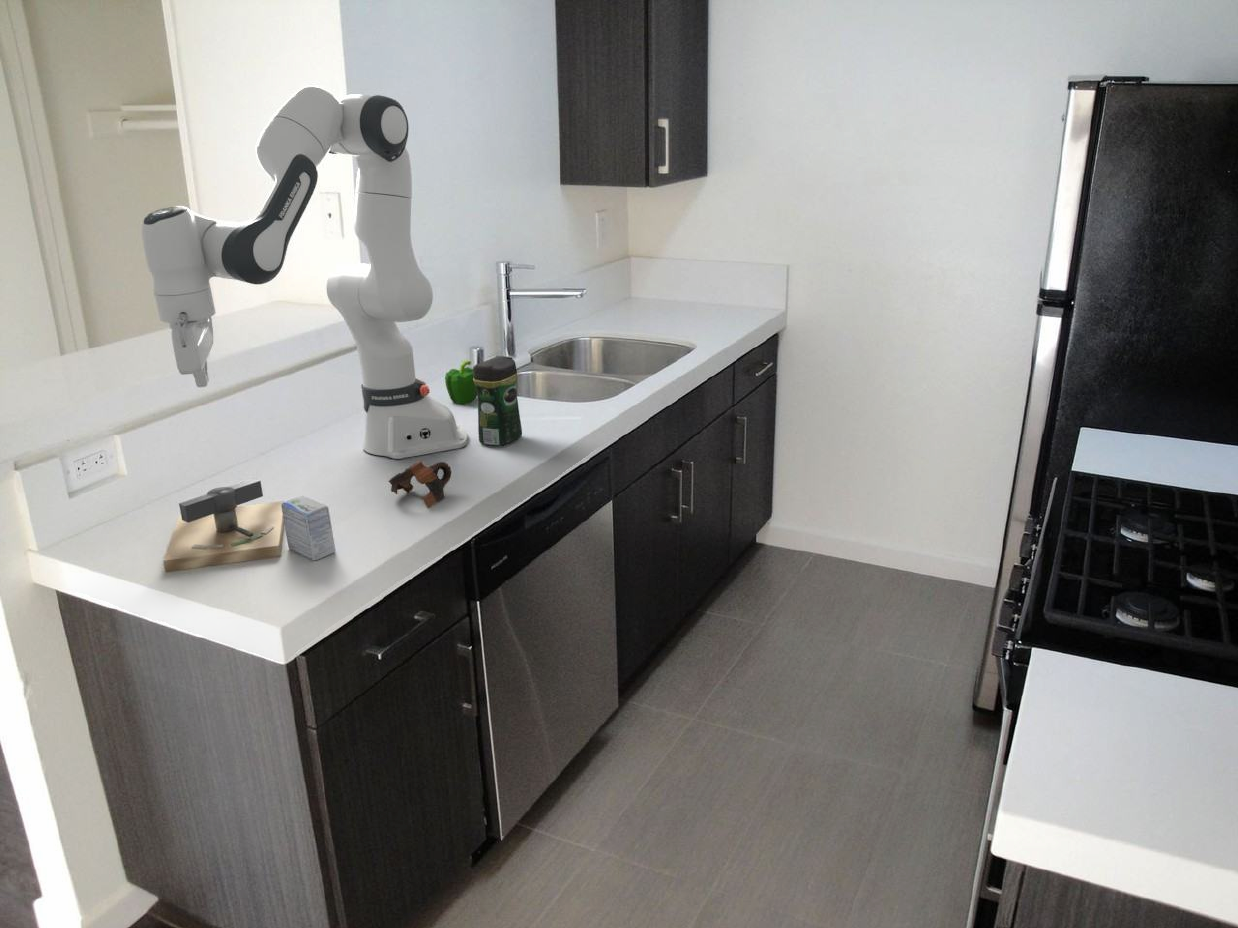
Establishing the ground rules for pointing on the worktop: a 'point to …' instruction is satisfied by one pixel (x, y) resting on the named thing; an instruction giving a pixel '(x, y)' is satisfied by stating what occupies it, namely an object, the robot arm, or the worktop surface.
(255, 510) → the tuner board
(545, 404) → the worktop surface
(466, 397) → the bell pepper
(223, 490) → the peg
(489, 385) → the coffee jar
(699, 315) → the worktop surface
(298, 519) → the medicine box
